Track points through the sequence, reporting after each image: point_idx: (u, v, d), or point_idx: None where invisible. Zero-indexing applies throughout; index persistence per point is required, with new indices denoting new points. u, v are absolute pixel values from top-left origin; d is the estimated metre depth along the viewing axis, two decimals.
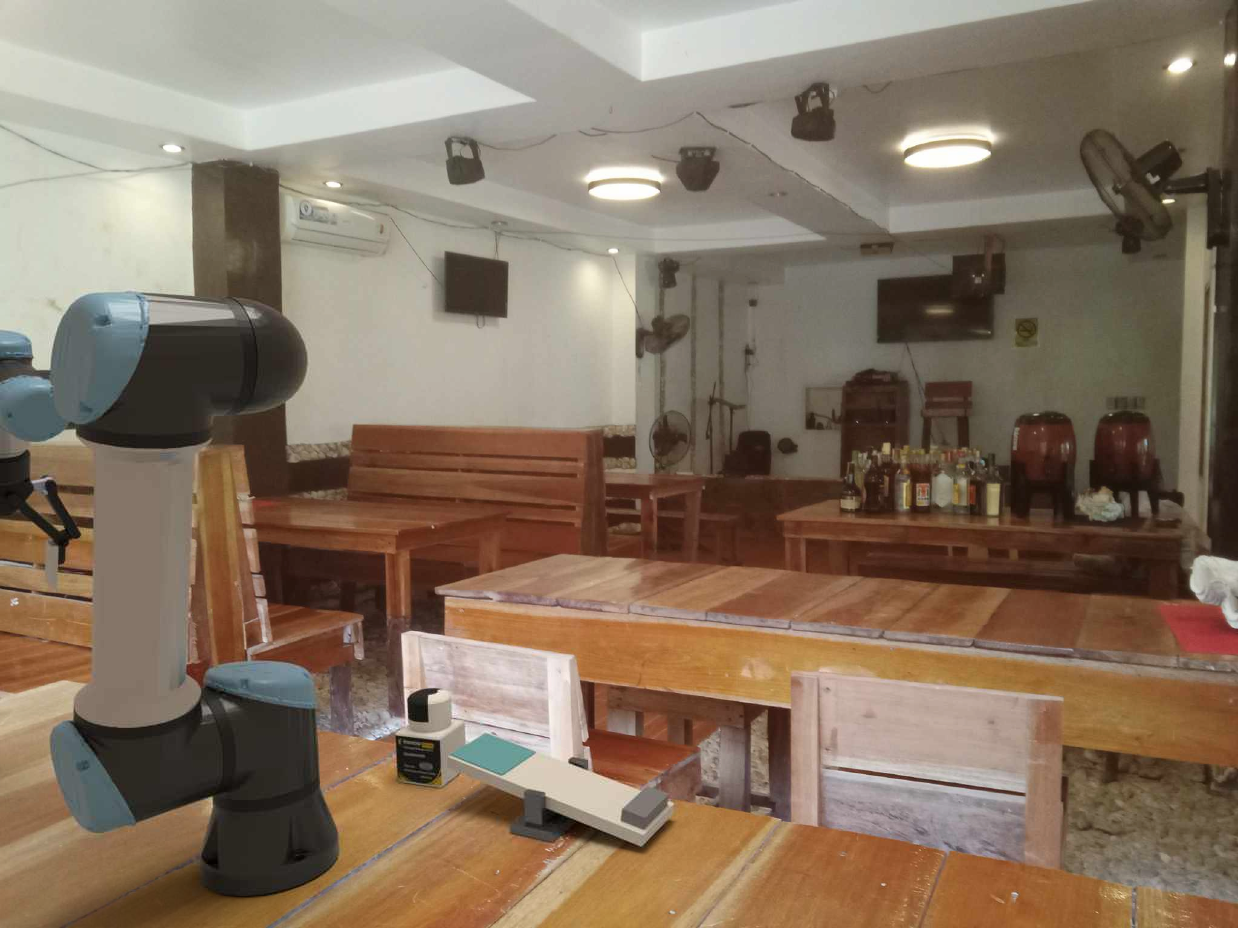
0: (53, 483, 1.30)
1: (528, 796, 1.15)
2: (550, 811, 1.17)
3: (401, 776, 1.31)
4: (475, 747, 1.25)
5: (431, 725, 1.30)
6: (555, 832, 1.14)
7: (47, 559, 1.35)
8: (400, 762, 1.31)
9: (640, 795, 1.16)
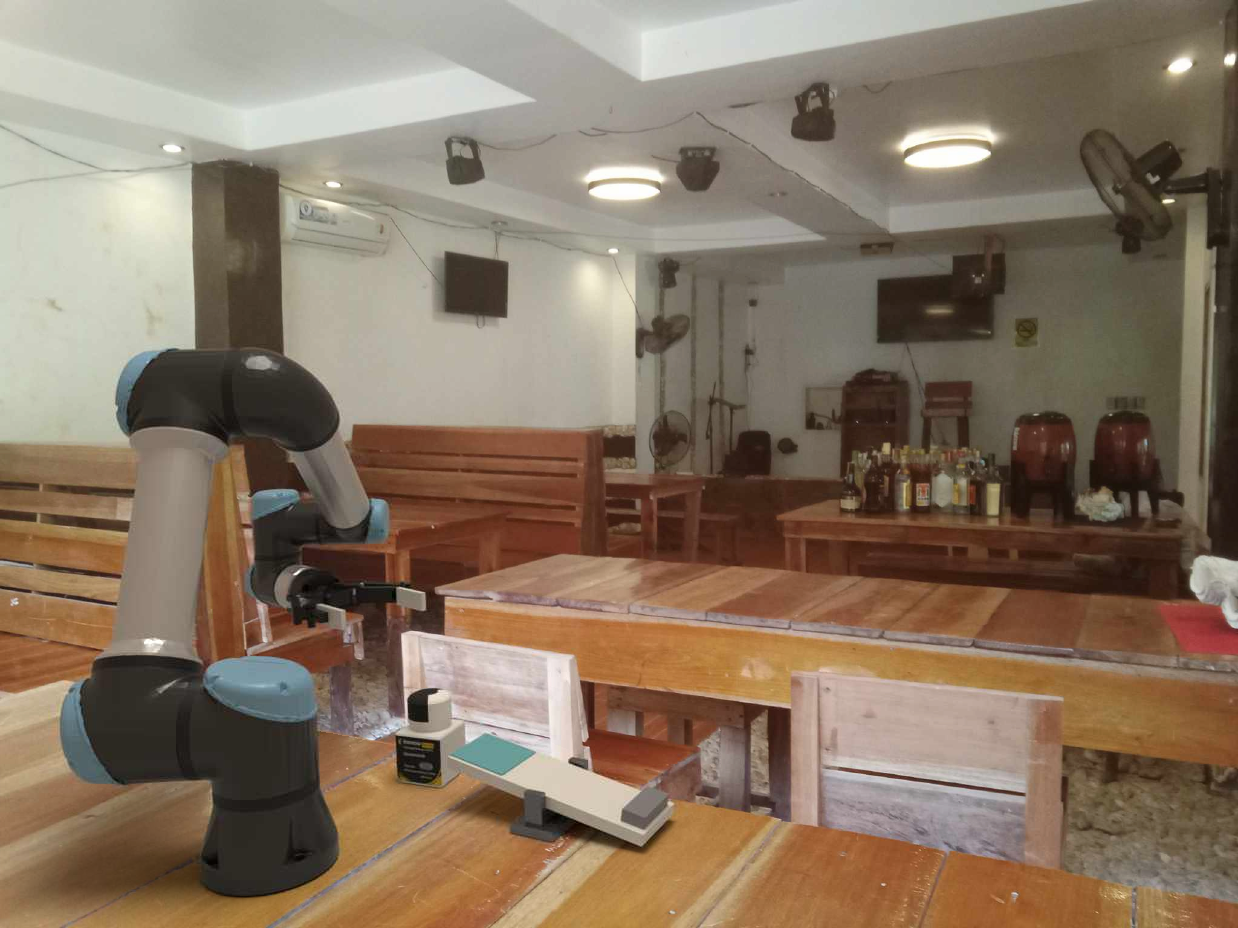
0: None
1: (528, 796, 1.15)
2: (550, 811, 1.17)
3: (401, 776, 1.31)
4: (475, 747, 1.25)
5: (431, 725, 1.30)
6: (555, 832, 1.14)
7: (407, 602, 1.46)
8: (400, 762, 1.31)
9: (640, 795, 1.16)
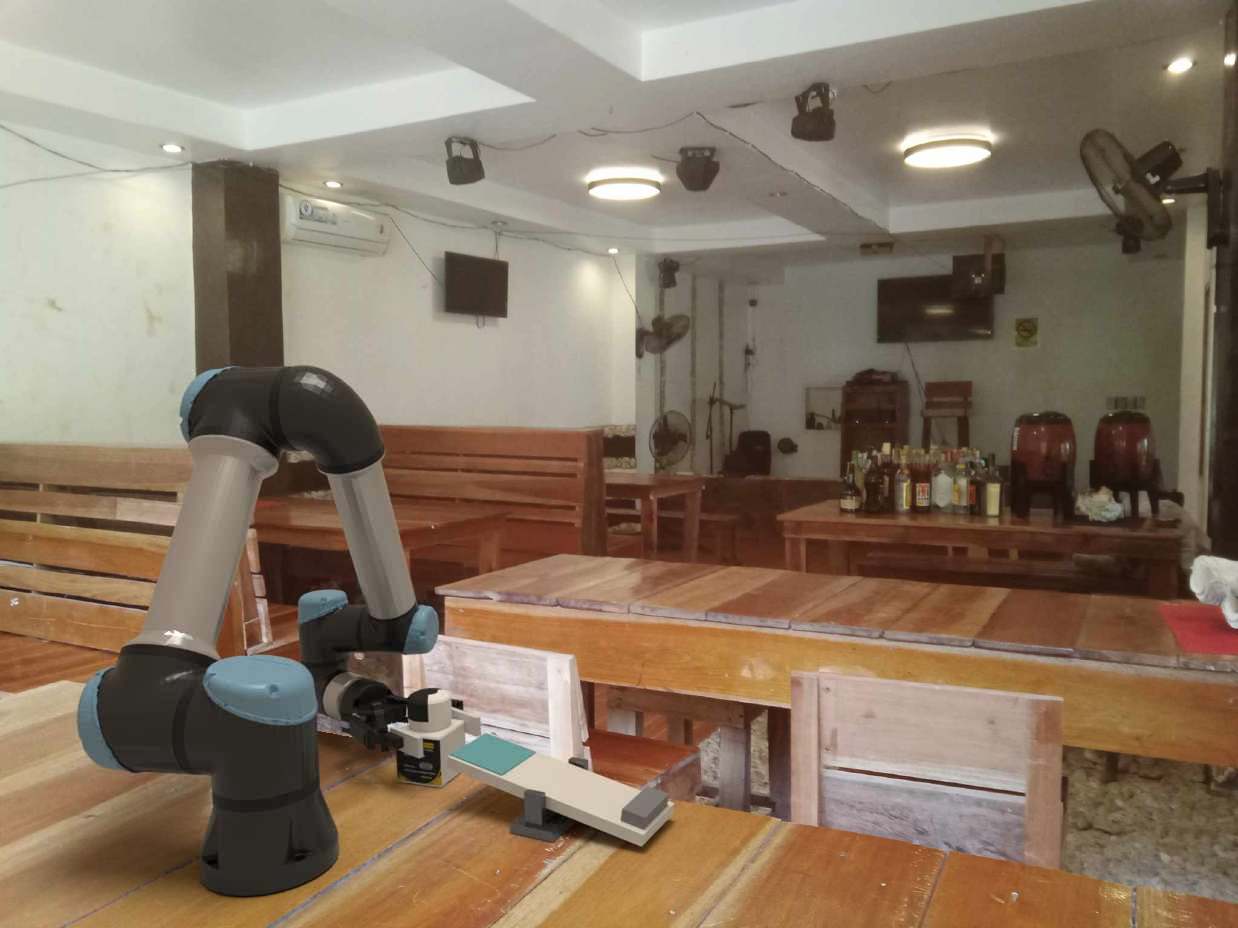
0: None
1: (528, 796, 1.15)
2: (550, 811, 1.17)
3: (401, 776, 1.31)
4: (475, 747, 1.25)
5: (431, 725, 1.30)
6: (555, 832, 1.14)
7: None
8: (400, 762, 1.31)
9: (640, 795, 1.16)
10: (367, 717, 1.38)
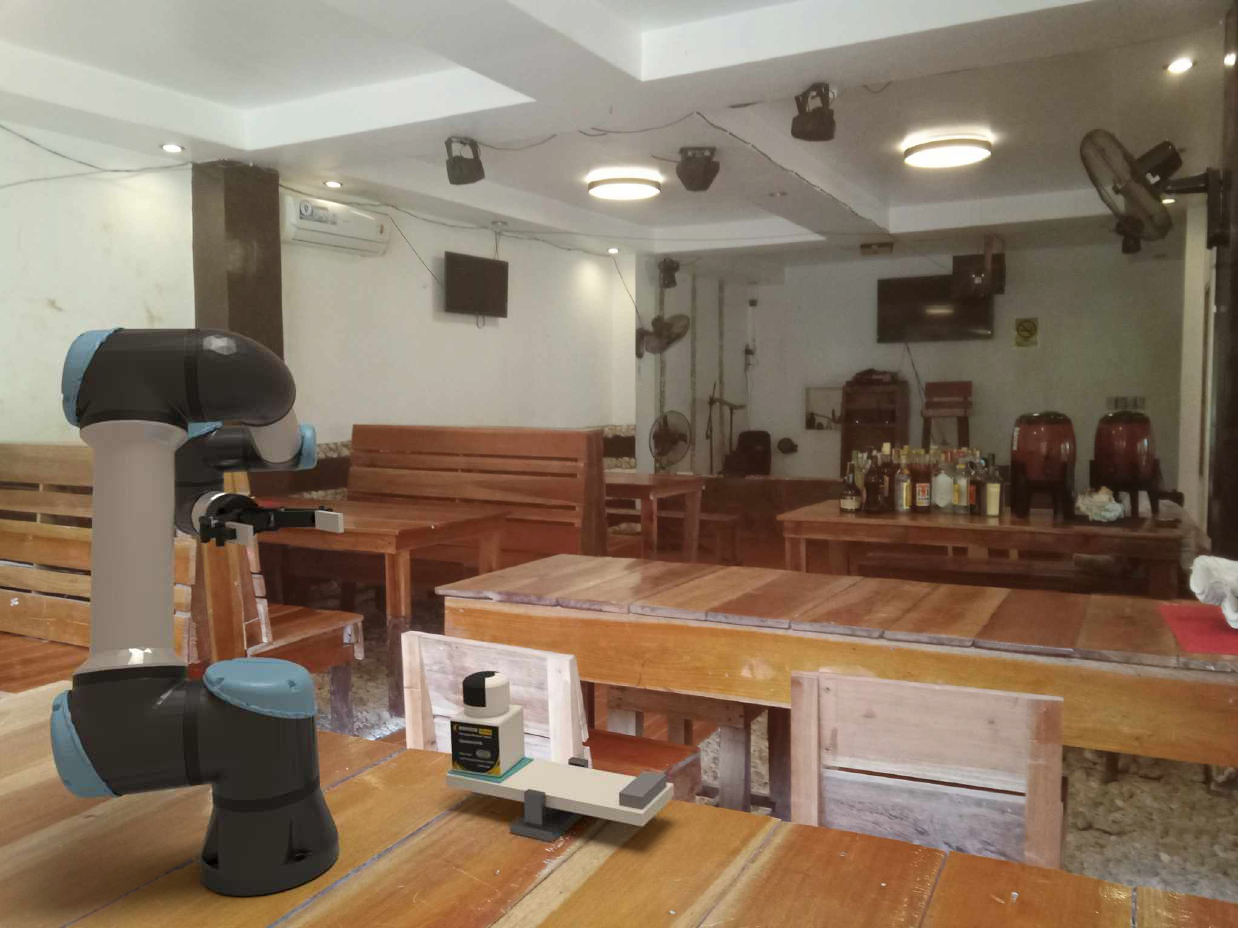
0: (282, 507, 1.48)
1: (528, 796, 1.15)
2: (550, 811, 1.17)
3: (456, 764, 1.22)
4: None
5: (489, 710, 1.21)
6: (555, 832, 1.14)
7: (325, 525, 1.40)
8: (455, 750, 1.22)
9: (637, 779, 1.16)
10: None
